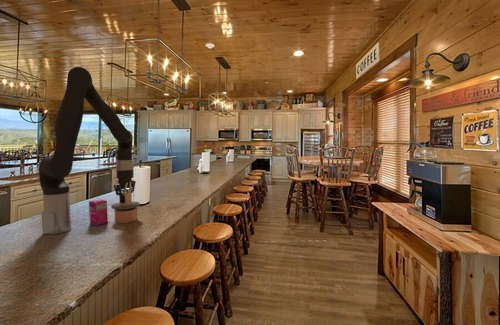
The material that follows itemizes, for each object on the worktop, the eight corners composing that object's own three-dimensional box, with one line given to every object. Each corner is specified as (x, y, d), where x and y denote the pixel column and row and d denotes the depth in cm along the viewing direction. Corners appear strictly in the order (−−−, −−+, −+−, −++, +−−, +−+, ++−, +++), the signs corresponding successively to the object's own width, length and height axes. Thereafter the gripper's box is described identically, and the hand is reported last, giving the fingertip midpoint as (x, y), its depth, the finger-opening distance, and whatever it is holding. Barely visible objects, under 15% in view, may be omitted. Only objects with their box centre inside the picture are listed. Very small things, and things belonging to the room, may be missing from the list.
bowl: (128, 224, 120) (128, 212, 120) (110, 222, 122) (110, 210, 122) (141, 217, 130) (140, 206, 130) (124, 216, 132) (123, 205, 131)
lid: (128, 210, 118) (128, 196, 117) (105, 208, 120) (104, 194, 120) (144, 203, 131) (144, 191, 130) (123, 202, 133) (122, 190, 132)
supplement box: (89, 224, 119) (88, 201, 118) (101, 221, 124) (100, 198, 123) (96, 226, 116) (95, 202, 115) (108, 223, 121) (107, 200, 120)
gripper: (127, 167, 132) (128, 198, 133) (107, 170, 118) (108, 205, 119) (140, 167, 130) (140, 199, 132) (121, 170, 116) (122, 205, 118)
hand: (125, 201), depth 125 cm, fingers closed on lid, 4 cm apart
